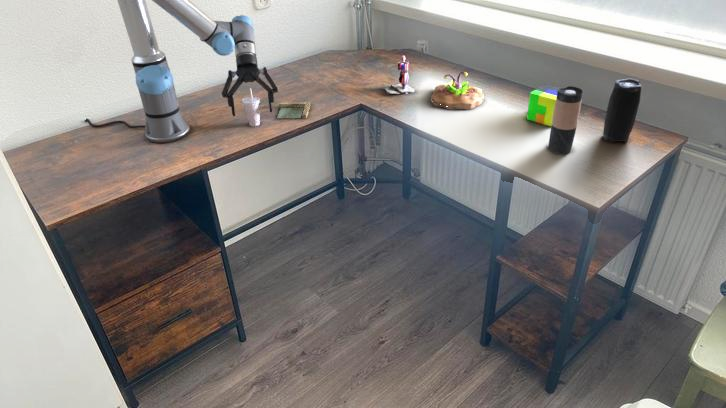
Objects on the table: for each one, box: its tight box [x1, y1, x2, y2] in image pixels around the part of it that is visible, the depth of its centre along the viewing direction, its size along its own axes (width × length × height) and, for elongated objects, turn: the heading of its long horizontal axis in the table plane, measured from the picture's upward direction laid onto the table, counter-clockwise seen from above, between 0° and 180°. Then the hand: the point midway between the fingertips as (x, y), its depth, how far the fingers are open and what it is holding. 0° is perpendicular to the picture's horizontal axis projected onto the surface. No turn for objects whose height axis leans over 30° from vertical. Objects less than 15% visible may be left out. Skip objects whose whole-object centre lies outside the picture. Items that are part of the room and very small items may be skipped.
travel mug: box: [548, 85, 584, 155], centre depth 174 cm, size 8×8×20 cm
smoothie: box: [241, 87, 261, 127], centre depth 198 cm, size 6×6×14 cm
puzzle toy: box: [526, 84, 560, 127], centre depth 195 cm, size 10×10×10 cm
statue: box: [381, 55, 416, 95], centre depth 220 cm, size 11×9×15 cm
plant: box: [430, 71, 485, 110], centre depth 212 cm, size 20×20×11 cm
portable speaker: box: [602, 77, 643, 144], centre depth 178 cm, size 9×9×20 cm
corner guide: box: [276, 101, 311, 120], centre depth 209 cm, size 12×12×2 cm
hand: (252, 112), depth 197 cm, fingers open, 12 cm apart
